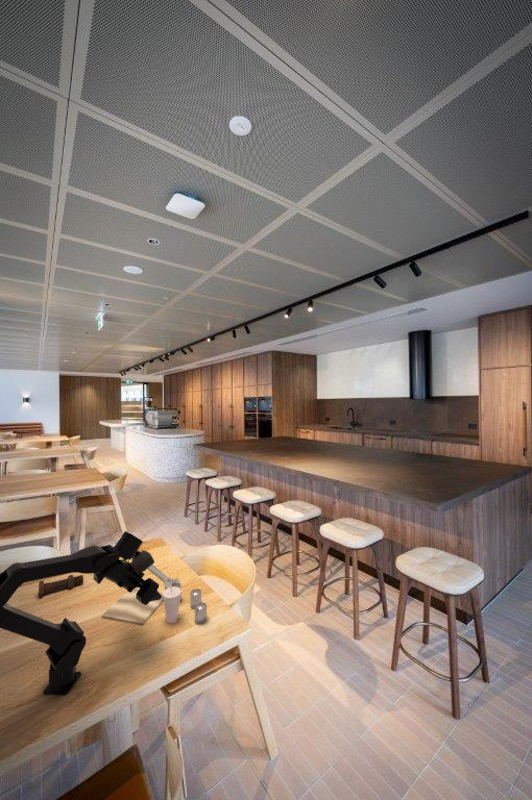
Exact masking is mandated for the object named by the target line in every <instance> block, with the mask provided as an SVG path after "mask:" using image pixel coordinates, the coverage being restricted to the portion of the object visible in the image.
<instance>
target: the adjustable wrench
mask: <svg viewBox="0 0 532 800" xmlns="http://www.w3.org/2000/svg"><path fill="white" fill-rule="evenodd" d="M146 570H148V571H149V572H150V573H151V574H153V575H154V576H156V577H157V578H158V579H159V580H160V581H162V582H163V584H164V589H165V590H166V589H167V588H170V579H172V586H174V585H180V586H181V581H180V579H178V578H174V577H169V576H167V575H166V574H165V573H163V571H162V570H160V568H158V567H157V566H155V565H154V563H153V564H152V565H151V566H150V567H148V568H147V569H146Z"/></svg>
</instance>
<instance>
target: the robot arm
mask: <svg viewBox="0 0 532 800" xmlns="http://www.w3.org/2000/svg"><path fill="white" fill-rule="evenodd" d="M143 543H144V541H142V540H141V539H140V538H139V537H137V536H135V535H134V534H132V533H130V532H128V531H126V530H125V531H124V533H123V534H122V535H121V537H120V538H119V540H118V541H117V542H116V543H115V545H114V546H113V545H111V544H107V545H106V544H105V545H103V546H102V545H101V546H99V545H91V546H87V547H84V548H81V549H79V550H78V551H76V552H74V553H72V554H67V555H61V556H56V557H50V558H43V559H37V560H33V561H32V560H31V561H25V562H15V563H12V564H11V565H10V566H7V568H6V569H5V570H3V572H0V629H2V630H4V631H7V632H10V633H12V634H13V633H14V634H17V635H19V636H22V637H25V638H27V639H30V640H33V641H36V642H40V643H42V644H45V645H47V646H48V647H47V649H46V651H45V655H46V657H47V658H48V660H49V662H50V664H49V669H48V684H47V685H46V687H45V688H44V690H43V692H42V694H43V695H44V694H45V695H60V696H61V695H62V696H66V695H68V694H69V692H70V690H71V689H72V688H73V686H75V684H76V682H77V681H78V680H79V678H80V676H81V675H82V671H77V665H79V662H80V660H81V659H80V658H81V655H82V652H83V650H84V649H85V646H86V644H87V638H86V635H84V634H85V632H84V630H83V629H82V628H81V626H79V624H78V623H77V621H76V620H74V621H71V620H69V619H68V618H67V617H64V618H63V620H62V622H59V623H54V622H51V621H49V620H47V619H44V618H42V617H38V616H36V615H34V614H32V613H29V612H26V611H23V610H21V609H19V608H16V607H13V606H12V605H10V604H8V602H9V600H10V599H11V598H12V597H13V595H14V594H15V592H16V591H17V590H18V589H19V588H20V587H21V586H22V585H23V584H24V583H30V582H34V581H39V580H44V579H49V578H52V577H57V576H58V577H59V576H63V575H68V574H74V573H78V574H83V575H84V574H85V575H89V574H91V575H92V574H93V577H92V579H93V580H94V582H96V584H98V585H101V583H102V581H103V580H104V579H107V580H108V581H110V582H112V583H114V584H115V585H117V587H119V588H120V589H121V588H123V589H125V590H126V592H127V591H128V592H130V593H131V592H132V591H133V589H136V588H139V589H137V590H138V592H137V593H136V599H137V600H138V601H140V602H141V603H142V604H144V605H148V603H149V602H151V601H156V600H160V599H161V597H162V595H161V594H160V592H159V591H158V589H159V587H160V584H159V583H158V582H156V581H155V580H154V579H152V577H151V578H150V577H148V578H146V579H144V578H143V577H144V576H145V575H146V574H145V573H144V572H145V571H146V570H148V569H147V568H148V567H150V566H151V565H152V564H153V565H154V564H155V560H154V558H153V556H152V554H151V553H150V552H148V551H147V550H144V549H143V550H141V551H140V550H139V549H140V547H142V544H143ZM120 558H121V559H124V560H126V561H127V562H123V561H121V559H120ZM127 559H129V562H128V560H127ZM130 561H131V562H130Z"/></svg>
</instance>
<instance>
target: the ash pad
mask: <svg viewBox="0 0 532 800" xmlns="http://www.w3.org/2000/svg"><path fill="white" fill-rule="evenodd" d="M138 590H139V589H136V588H135V589H133V591H132V592H131V593H130V592H128V591H127V590H126V593H124V594H123V595H122V596H121V597H120V598H118V600H117V601H116V602H115V603H113V604H112V605H111V607H108V609H107V610H106V611H105V612H104V613H102V615H101V618H102V619H106V620H111V621H117V622H123V623H127V624H128V623H130V624H134V625H139V626H144V625H145V623H146V622H147V621H148V620H149V619H150V617H151V616H152V615H153V614H154V613H155V612H156V610H157V609H158V608H160V606H161V604H162V603H164V599H163V597H161V599H160V600H156V601H151V602H149V603H148V605H144V604H142V603H141V602H140V601H138V600H137V599H136V593H137V592H138ZM159 593H160V592H159ZM160 594H161V595H162V596H163V592H162V593H160ZM148 618H149V619H148ZM147 619H148V620H147Z"/></svg>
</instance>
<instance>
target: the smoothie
mask: <svg viewBox="0 0 532 800" xmlns="http://www.w3.org/2000/svg"><path fill="white" fill-rule="evenodd" d="M162 594H163V596H162V597H163V599H164V601H163V605H164V611H165V613H164V614H165V617H166V618H165V620H166V623H167V624H174V623H176V622H177V621H178V618H179V610H180V603H181V602H180V596H181V597H182V594H183V593H182V588H181V589H180V588H178V587H172V579H170V588H167V589H166V590H163V592H162Z"/></svg>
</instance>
